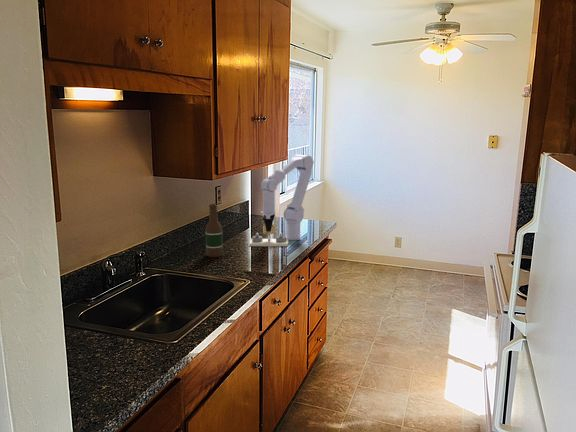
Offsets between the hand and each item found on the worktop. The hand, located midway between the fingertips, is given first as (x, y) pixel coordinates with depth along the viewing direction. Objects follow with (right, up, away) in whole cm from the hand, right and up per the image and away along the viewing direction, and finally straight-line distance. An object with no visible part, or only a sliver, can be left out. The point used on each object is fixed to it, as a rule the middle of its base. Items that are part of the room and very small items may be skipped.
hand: (269, 230), depth 242 cm
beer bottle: (-25, -11, -18) cm, 32 cm away
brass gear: (0, -2, 0) cm, 2 cm away
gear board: (0, -7, +1) cm, 7 cm away
